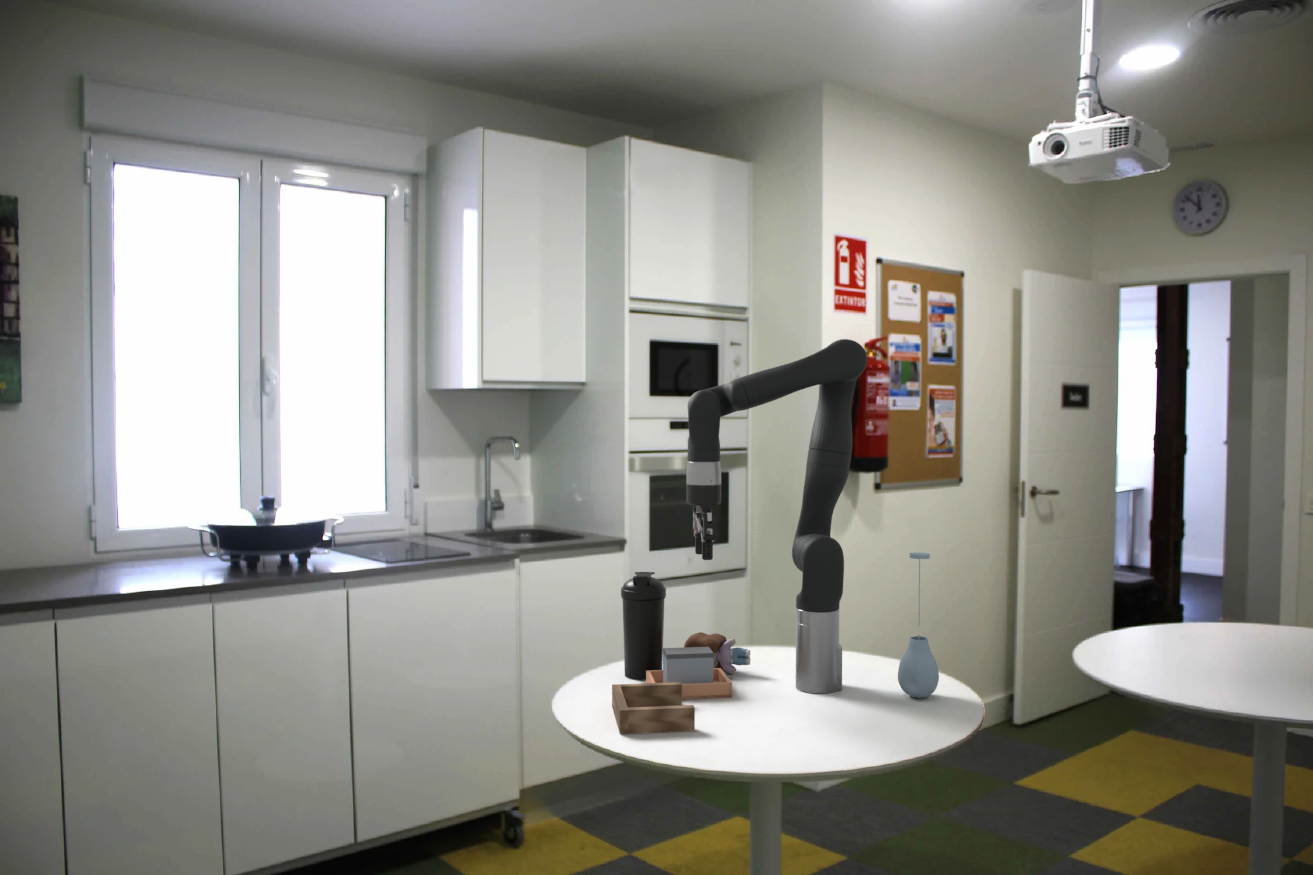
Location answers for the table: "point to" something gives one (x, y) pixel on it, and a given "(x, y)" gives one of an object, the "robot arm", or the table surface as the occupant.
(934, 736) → the table surface
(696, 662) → the grey rectangular prism
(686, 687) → the tray
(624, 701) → the bay
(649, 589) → the water bottle
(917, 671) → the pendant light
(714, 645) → the toy
